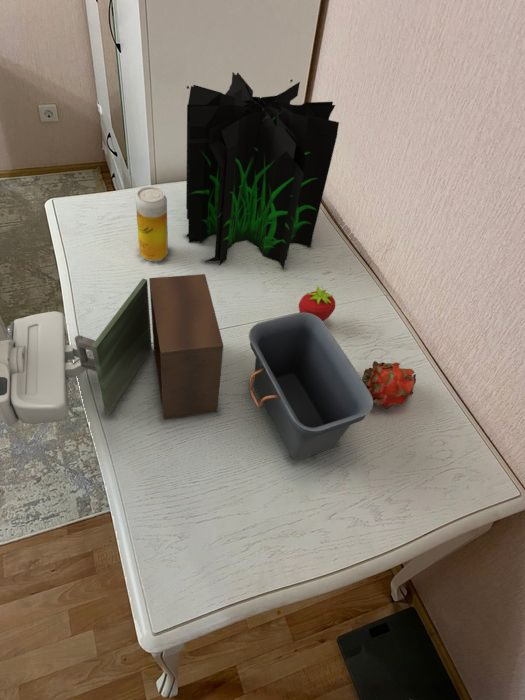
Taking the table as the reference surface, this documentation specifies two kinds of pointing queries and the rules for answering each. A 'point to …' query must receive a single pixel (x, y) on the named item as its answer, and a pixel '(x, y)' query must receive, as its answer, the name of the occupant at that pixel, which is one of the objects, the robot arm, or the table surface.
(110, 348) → the cupboard door
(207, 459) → the table surface
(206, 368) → the cupboard
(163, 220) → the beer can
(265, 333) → the storage bin
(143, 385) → the table surface
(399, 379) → the dragon fruit
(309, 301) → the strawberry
